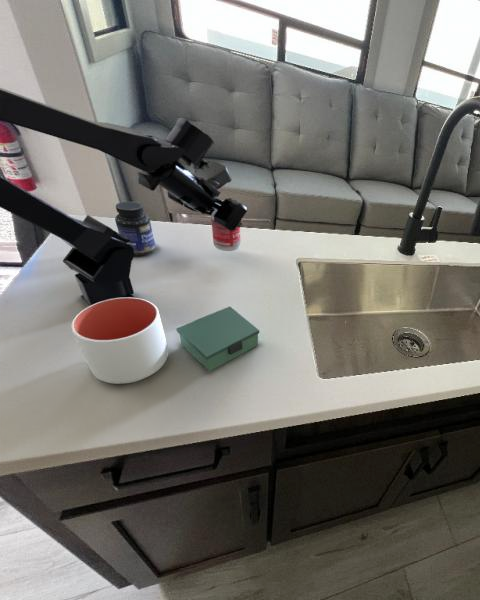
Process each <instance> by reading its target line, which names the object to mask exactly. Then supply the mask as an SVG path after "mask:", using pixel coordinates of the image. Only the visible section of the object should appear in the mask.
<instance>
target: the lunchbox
mask: <svg viewBox="0 0 480 600" xmlns="http://www.w3.org/2000/svg"><path fill="white" fill-rule="evenodd" d="M175 329H176V332H177V333H178V334H179V339H180V344H181V346H182V347H183V348H184V349H185V350H186V351H187V352H188V353H189V354H190V355H191V356H192V357H194V359H196V360H197V361H198V362H199V363H200V365H202V366H203V367H204V368H205V369H206V370H207V371H208V372H211V371H213V370H215V369H217V368H219V367H220V366H222V365H224V364H226V363H228V362H229V361H231V360H233V359H235V358H237V357H239V356H241V355H243V354H244V353H246V352H247V351H250V350H252V349H254V348H256V347H257V346H259V334H260V329H259V328H257V327H256V326H255V325H254V324H252V322H250V321H249V320H248V319H247V318H245V317H244V316H243V315H242V314H240V313H239V312H238V311H237V310H235V309H234V308H233V307H232V306H231V305H230V306H226V307H225V308H223V309H220V310H217V311H215V312H212V313H211V314H207V315H205V316H202V317H200V318H198V319H195V320H193V321H191V322H188V323H186V324H183V325H181V326H179V327H176V328H175Z"/></svg>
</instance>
